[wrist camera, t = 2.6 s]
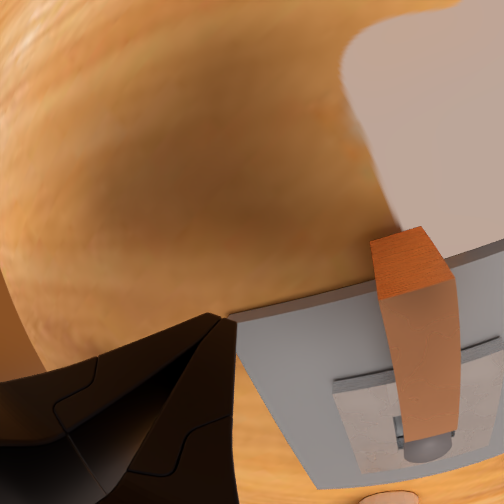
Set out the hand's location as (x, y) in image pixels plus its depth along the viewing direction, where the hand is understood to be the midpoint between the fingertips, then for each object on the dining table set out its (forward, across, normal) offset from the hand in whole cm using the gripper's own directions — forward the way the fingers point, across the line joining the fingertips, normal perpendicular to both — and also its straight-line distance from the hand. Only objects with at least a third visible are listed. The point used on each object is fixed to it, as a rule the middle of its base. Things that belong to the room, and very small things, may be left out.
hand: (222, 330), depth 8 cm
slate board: (+8, -12, +9) cm, 17 cm away
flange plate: (+7, -10, +6) cm, 13 cm away
